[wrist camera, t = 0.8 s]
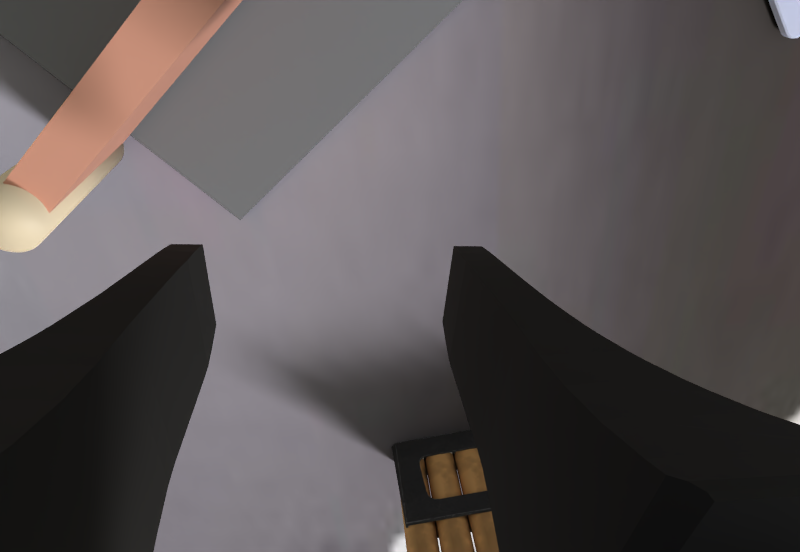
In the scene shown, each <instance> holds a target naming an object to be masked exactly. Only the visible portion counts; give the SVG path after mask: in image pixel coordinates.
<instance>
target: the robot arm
mask: <svg viewBox="0 0 800 552" xmlns="http://www.w3.org/2000/svg"><path fill="white" fill-rule="evenodd" d="M768 1H769V4H770V6H771V9H772V12H773V14H774V17H775V20H776V22H777V25H778V28H779V30H780V33H781V34H782V35H783V36H785V37H788V38H798V37H800V0H768ZM443 327H444V333H445V340H446V345H447V351H448V356H449V361H450V365H451V368H452V371H453V374H454V378H455V381H456V384H457V387H458V390H459V394H460V397H461V400H462V403H463V406H464V409H465V412H466V415H467V419H468V422H469V425H470V428H471V431H472V434H473V437H474V440H475V443H476V447H477V450H478V454H479V457H480V461H481V465H482V468H483V473H484V478H485V483H486V487H487V492H488V497H489V502H490V507H491V512H492V517H493V522H494V527H495V533H496V538H497V543H498V548H499V552H800V425H798V424H795V423H793V422H790V421H787V420H784V419H781V418H778V417H775V416H772V415H769V414H766V413H764V412H761V411H758V410H756V409H753V408H750V407H748V406H746V405H743V404H741V403H738V402H736V401H733V400H731V399H728V398H726V397H723V396H721V395H718V394H716V393H714V392H711V391H709V390H707V389H704V388H702V387H700V386H698V385H695V384H693V383H691V382H689V381H686V380H684V379H682V378H680V377H678V376H676V375H674V374H672V373H670V372H668V371H666V370H664V369H662V368H660V367H658V366H656V365H653V364H651V363H649V362H647V361H645V360H644V359H642V358H640V357H638V356H636V355H634V354H632V353H631V352H629V351H627V350H625V349H623V348H622V347H620V346H618V345H617V344H615V343H613V342H612V341H610V340H608V339H606V338H605V337H603V336H601V335H600V334H598V333H596V332H595V331H593V330H592V329H590V328H589V327H587V326H585V325H584V324H582V323H581V322H580V321H578V320H577V319H575V318H574V317H572V316H571V315H569V314H568V313H567V312H565V311H564V310H562V309H561V308H559V307H558V306H557V305H555V304H554V303H553V302H551V301H550V300H549V299H547V298H546V297H545V296H543V295H542V294H541V293H539V292H538V291H537V290H536V289H534V288H533V287H532V286H531V285H529V284H528V283H527V282H526V281H524V280H523V279H522V278H521V277H519V276H518V275H517V274H516V273H515V272H513V271H512V270H511V269H510V268H508V267H507V266H506V265H505V264H504V263H502V262H501V261H500V260H499V259H497V258H496V257H495V256H494V255H493V254H491V253H490V252H489V251H487V250H486V249H485V248H483V247H478V246H454V249H453V255H452V262H451V269H450V275H449V282H448V289H447V295H446V302H445V309H444V316H443ZM215 328H216V321H215V315H214V309H213V303H212V297H211V292H210V286H209V280H208V274H207V268H206V262H205V256H204V250H203V245H193V244H171V245H169V246H167V247H166V248H164V249H162V250H161V251H159V252H158V253H157V254H155V255H154V256H152V257H151V258H149V259H148V260H147V261H145V262H144V263H143V264H141V265H140V266H138V267H137V268H136V269H134V270H133V271H132V272H130V273H129V274H127V275H126V276H125V277H123V278H122V279H120V280H119V281H118V282H116V283H115V284H113V285H112V286H110V287H109V288H108V289H106V290H105V291H103V292H102V293H101V294H99V295H98V296H96V297H95V298H93V299H92V300H90V301H88V302H87V303H85V304H84V305H82V306H81V307H79V308H78V309H76V310H74V311H73V312H71V313H70V314H68V315H67V316H65V317H64V318H62V319H61V320H59V321H57V322H56V323H54V324H53V325H51V326H50V327H48V328H46V329H45V330H43V331H41V332H39V333H38V334H36V335H34V336H33V337H31V338H29V339H27V340H25V341H24V342H22V343H20V344H18V345H16V346H14V347H13V348H11V349H9V350H7V351H5V352H3V353H1V354H0V552H153V550H154V545H155V541H156V536H157V532H158V527H159V523H160V519H161V514H162V510H163V506H164V501H165V497H166V493H167V488H168V484H169V481H170V478H171V474H172V471H173V467H174V464H175V461H176V458H177V455H178V452H179V449H180V447H181V444H182V441H183V438H184V435H185V432H186V429H187V426H188V424H189V421H190V418H191V415H192V412H193V409H194V406H195V404H196V401H197V398H198V395H199V392H200V389H201V386H202V383H203V380H204V377H205V374H206V371H207V368H208V364H209V359H210V355H211V350H212V345H213V339H214V333H215Z"/></svg>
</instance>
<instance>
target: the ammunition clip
mask: <svg viewBox="0 0 800 552" xmlns="http://www.w3.org/2000/svg"><path fill="white" fill-rule="evenodd" d="M392 450H393V456H394V462H395V468H396V474H397V479H398V485H399V491H400V497H401V505H402V514H403V522H404V530H405V538H406V547H407V552H440V551H439V545H438V539H437V538H439V540H440V546H441V551H442V552H474V547H473V543H472V538H471V534H470V532H472V534H473V538H474V543H475V547H476V551H477V552H499V548H498V543H497V538H496V533H495V527H494V522H493V517H492V512H491V507H490V502H489V497H488V492H487V487H486V483H485V478H484V473H483V468H482V465H481V461H480V457H479V454H478V450H477V447H476V443H475V440H474V437H473V434H472V431H471V430H470V431H464V432H459V433H453V434H447V435H441V436H436V437H430V438H424V439H418V440H413V441H407V442H401V443H395V444H394V445H393V446H392ZM457 470H458V474H459V479H460V483H461V487H462V491H463V495H462V493H461V488H460V484H459V479H458V475H457ZM427 475H428V478H429V484H430V489H431V495H432V498H431V496H430V490H429V484H428V478H427Z"/></svg>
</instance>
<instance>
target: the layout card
mask: <svg viewBox="0 0 800 552" xmlns="http://www.w3.org/2000/svg"><path fill="white" fill-rule="evenodd" d="M140 1H141V0H0V35H1V36H3V37H4V38H5V39H7V40H8V41H9V42H10V43H12V44H13V45H14V46H16V47H17V48H18V49H20V50H21V51H22V52H23V53H25V54H26V55H27V56H29V57H30V58H31V59H32V60H34V61H35V62H36V63H38V64H39V65H40V66H41V67H43V68H44V69H45V70H47V71H48V72H49V73H51V74H52V75H53V76H54V77H56V78H57V79H58V80H60V81H61V82H62V83H63V84H65V85H66V86H67V87H69V88H70V89H71V90H73V89H74V88H75V87H76V86H77V84H78V83H79V82H80V80H81V79H82V78H83V76H84V75H85V74H86V72H87V71H88V70H89V68H90V67H91V66H92V64H93V63H94V62H95V60H96V59H97V58H98V56H99V55H100V54H101V52H102V51H103V50H104V48H105V47H106V46H107V44H108V43H109V42H110V41H111V39H112V38H113V37H114V35H115V34H116V33H117V31H118V30H119V29H120V27H121V26H122V25H123V23H124V22H125V21H126V19H127V18H128V17H129V15H130V14H131V13H132V11H133V10H134V9H135V7H136V6H137V5H138V3H139V2H140ZM462 1H463V0H242V1H241V3H240V4H239V5H238V6H237V7H236V9H235V10H234V11H233V12H232V13H231V15H230V16H229V17H228V18H227V19H226V21H225V22H224V23H223V24H222V25H221V27H220V28H219V29H218V30H217V31H216V33H215V34H214V35H213V36H212V37H211V38H210V40H209V41H208V42H207V43H206V44H205V46H204V47H203V48H202V49H201V50H200V52H199V53H198V54H197V55H196V56H195V58H194V59H193V60H192V61H191V62H190V64H189V65H188V66H187V67H186V68H185V70H184V71H183V72H182V73H181V74H180V76H179V77H178V78H177V79H176V80H175V82H174V83H173V84H172V85H171V86H170V87H169V89H168V90H167V91H166V92H165V93H164V95H163V96H162V97H161V98H160V99H159V101H158V102H157V103H156V104H155V105H154V107H153V108H152V109H151V110H150V111H149V113H148V114H147V115H146V116H145V117H144V119H143V120H142V121H141V122H140V123H139V125H138V126H137V127H136V128H135V129H134V131H133V132H132V133H131V134H130V135H131V136H132V137H133V138H135V139H136V140H137V141H139V142H140V143H141V144H142V145H144V146H145V147H146V148H148V149H149V150H150V151H151V152H153V153H154V154H155V155H157V156H158V157H159V158H161V159H162V160H163V161H164V162H166V163H167V164H168V165H170V166H171V167H172V168H173V169H175V170H176V171H177V172H179V173H180V174H181V175H182V176H184V177H185V178H186V179H188V180H189V181H190V182H192V183H193V184H194V185H195V186H197V187H198V188H199V189H201V190H202V191H203V192H204V193H206V194H207V195H208V196H210V197H211V198H212V199H214V200H215V201H216V202H217V203H219V204H220V205H221V206H223V207H224V208H225V209H226V210H228V211H229V212H230V213H232V214H233V215H234V216H236V217H237V218H238V219H239V220H241V219H242V218H243V217H244V216H245V215H246V214H247V213H248V212H249V211H250V210H251V209H252V208H253V207H254V206H255V205H256V204H257V203H258V202H259V201H260V200H261V199H262V198H263V197H264V196H265V195H266V194H267V193H268V192H269V191H270V190H271V189H272V188H273V187H274V186H275V185H276V184H277V183H278V182H279V181H280V180H281V179H282V178H283V177H284V176H285V175H286V174H287V173H288V172H289V171H290V170H291V169H292V168H293V167H294V166H295V165H296V164H297V163H298V162H300V161H301V160H302V159H303V158H304V157H305V156H306V155H307V154H308V153H309V152H310V151H311V150H312V149H313V148H314V147H315V146H316V145H317V144H318V143H319V142H320V141H321V140H322V139H323V138H324V137H325V136H326V135H327V134H328V133H329V132H330V131H331V130H332V129H333V128H334V127H335V126H336V125H337V124H338V123H339V122H340V121H341V120H342V119H343V118H344V117H345V116H346V115H347V114H348V113H349V112H350V111H351V110H352V109H353V108H354V107H355V106H356V105H357V104H358V103H359V102H360V101H361V100H362V99H363V98H364V97H365V96H366V95H367V94H368V93H369V92H370V91H371V90H372V89H373V88H374V87H375V86H377V85H378V84H379V83H380V82H381V81H382V80H383V79H384V78H385V77H386V76H387V75H388V74H389V73H390V72H391V71H392V70H393V69H394V68H395V67H396V66H397V65H398V64H399V63H400V62H401V61H402V60H403V59H404V58H405V57H406V56H407V55H408V54H409V53H410V52H411V51H412V50H413V49H414V48H415V47H416V46H417V45H418V44H419V43H420V42H421V41H422V40H423V39H424V38H425V37H426V36H427V35H428V34H429V33H430V32H431V31H432V30H433V29H434V28H435V27H436V26H437V25H438V24H439V23H440V22H441V21H442V20H443V19H444V18H445V17H446V16H447V15H448V14H449V13H450V12H451V11H453V10H454V9H455V8H456V7H457V6H458V5H459V4H460V3H461V2H462Z"/></svg>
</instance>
